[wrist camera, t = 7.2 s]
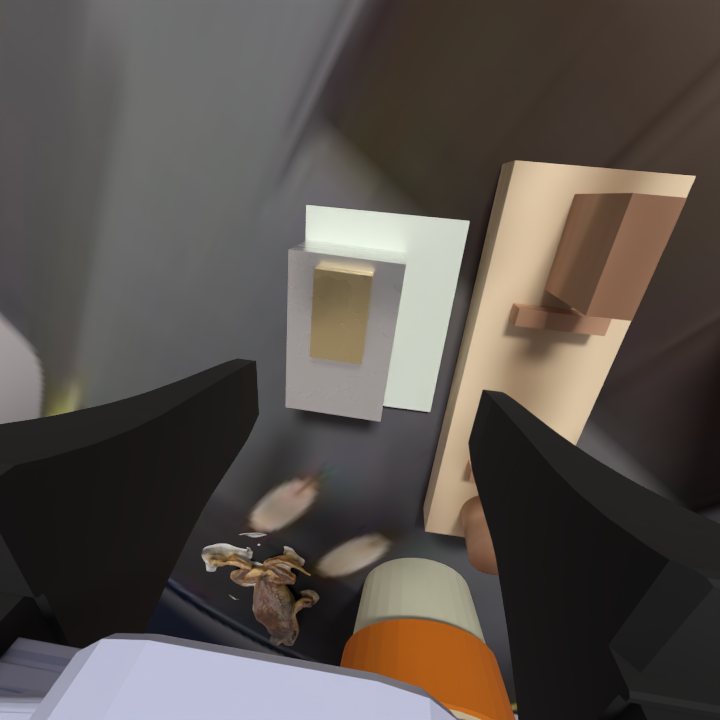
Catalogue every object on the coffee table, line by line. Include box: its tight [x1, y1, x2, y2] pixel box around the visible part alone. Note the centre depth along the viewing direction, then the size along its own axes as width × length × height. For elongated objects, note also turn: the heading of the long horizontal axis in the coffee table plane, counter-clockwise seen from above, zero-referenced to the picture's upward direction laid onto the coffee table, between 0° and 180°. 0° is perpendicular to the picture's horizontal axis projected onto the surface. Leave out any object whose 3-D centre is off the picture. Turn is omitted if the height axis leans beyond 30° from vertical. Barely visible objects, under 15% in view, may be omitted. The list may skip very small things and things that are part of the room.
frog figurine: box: [202, 532, 319, 646], centre depth 30 cm, size 12×12×4 cm
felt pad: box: [306, 205, 470, 412], centre depth 19 cm, size 8×11×1 cm
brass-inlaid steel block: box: [286, 240, 406, 422], centre depth 18 cm, size 5×8×4 cm, turn 174°
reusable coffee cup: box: [340, 558, 515, 720], centre depth 23 cm, size 13×13×15 cm
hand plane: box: [423, 160, 696, 575], centre depth 18 cm, size 7×22×6 cm, turn 175°
